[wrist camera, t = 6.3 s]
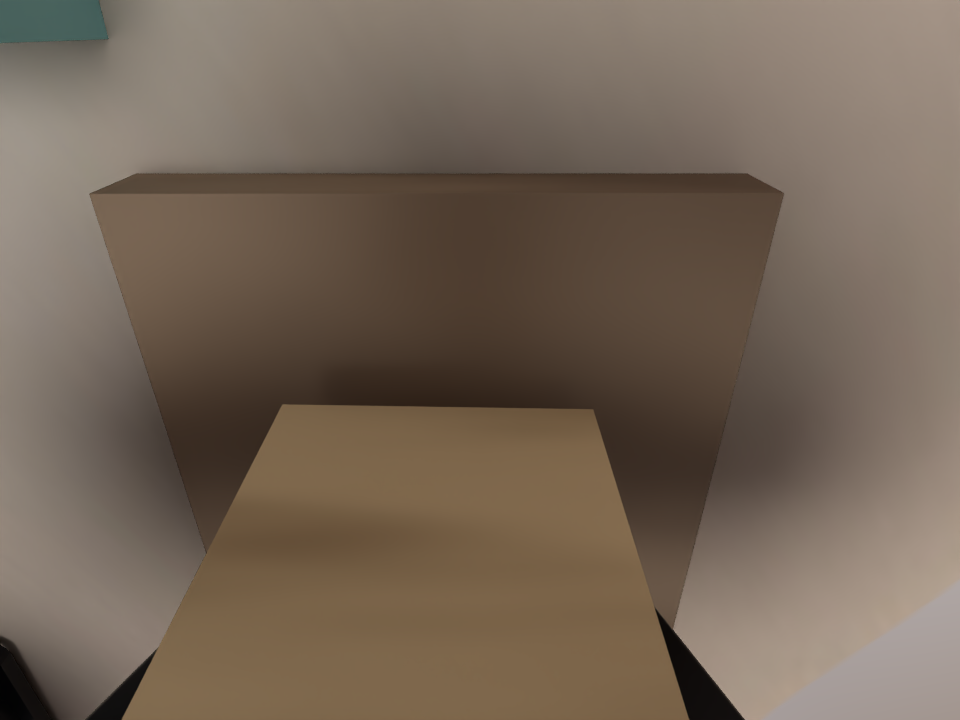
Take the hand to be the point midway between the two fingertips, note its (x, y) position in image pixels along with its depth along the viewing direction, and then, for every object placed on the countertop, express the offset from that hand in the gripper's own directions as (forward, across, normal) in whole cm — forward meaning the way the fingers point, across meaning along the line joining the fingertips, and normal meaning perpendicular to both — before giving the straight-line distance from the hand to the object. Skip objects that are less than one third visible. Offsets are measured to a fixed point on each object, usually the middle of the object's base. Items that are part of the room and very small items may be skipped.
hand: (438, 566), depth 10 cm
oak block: (+1, 0, 0) cm, 1 cm away
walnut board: (+5, 0, 0) cm, 5 cm away
